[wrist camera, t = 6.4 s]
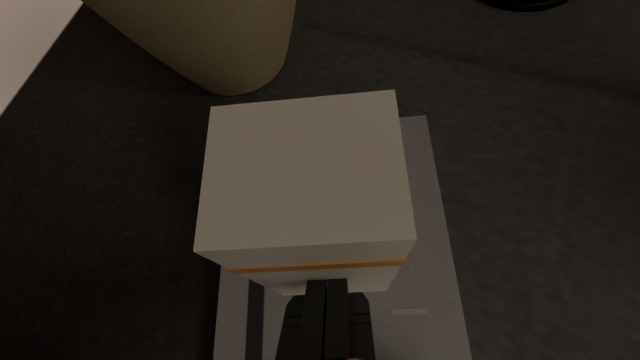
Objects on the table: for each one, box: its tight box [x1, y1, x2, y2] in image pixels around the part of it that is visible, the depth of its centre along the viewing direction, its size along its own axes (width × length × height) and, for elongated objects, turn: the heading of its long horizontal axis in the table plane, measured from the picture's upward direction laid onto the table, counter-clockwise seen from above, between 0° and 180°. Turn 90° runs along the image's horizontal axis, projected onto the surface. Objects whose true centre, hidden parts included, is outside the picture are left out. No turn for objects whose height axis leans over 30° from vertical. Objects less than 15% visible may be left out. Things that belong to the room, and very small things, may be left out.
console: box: [213, 115, 472, 360], centre depth 17 cm, size 12×22×2 cm, turn 2°
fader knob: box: [193, 90, 417, 296], centre depth 13 cm, size 5×4×10 cm
